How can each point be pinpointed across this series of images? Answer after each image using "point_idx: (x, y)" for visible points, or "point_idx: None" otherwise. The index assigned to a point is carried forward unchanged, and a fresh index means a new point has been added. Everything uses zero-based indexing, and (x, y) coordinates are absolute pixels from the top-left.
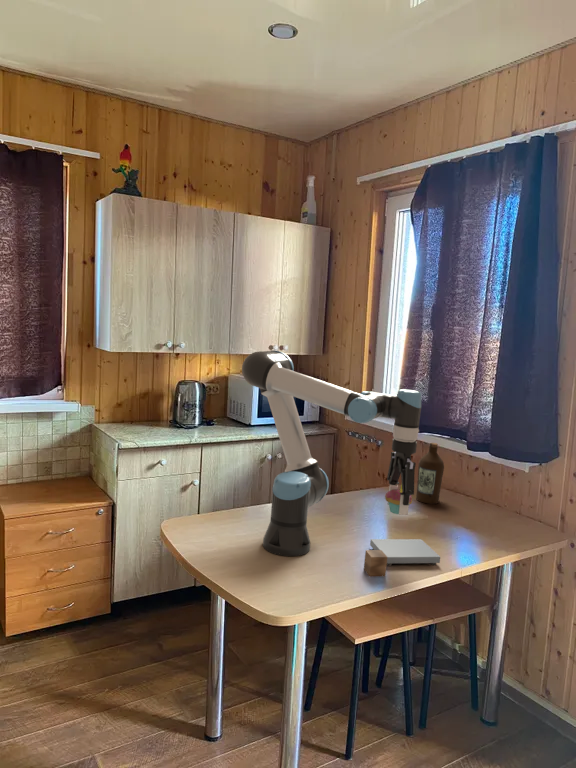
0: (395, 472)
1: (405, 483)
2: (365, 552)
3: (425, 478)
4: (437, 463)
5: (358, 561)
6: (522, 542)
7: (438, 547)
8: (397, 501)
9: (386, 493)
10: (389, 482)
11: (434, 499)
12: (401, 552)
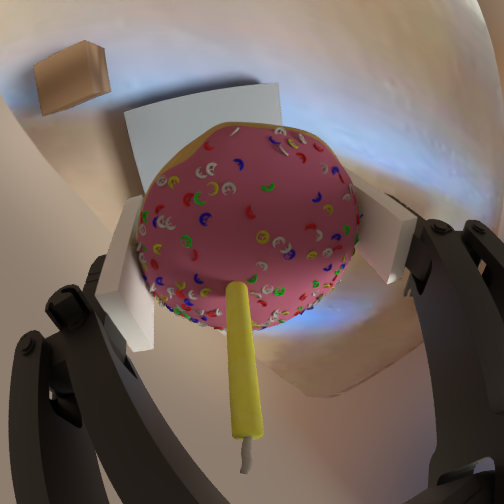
0: (465, 364)
1: (33, 431)
2: (87, 41)
3: None
4: None
5: (156, 33)
6: (305, 374)
7: None
8: (138, 218)
9: (304, 143)
10: (436, 225)
11: None
12: None
